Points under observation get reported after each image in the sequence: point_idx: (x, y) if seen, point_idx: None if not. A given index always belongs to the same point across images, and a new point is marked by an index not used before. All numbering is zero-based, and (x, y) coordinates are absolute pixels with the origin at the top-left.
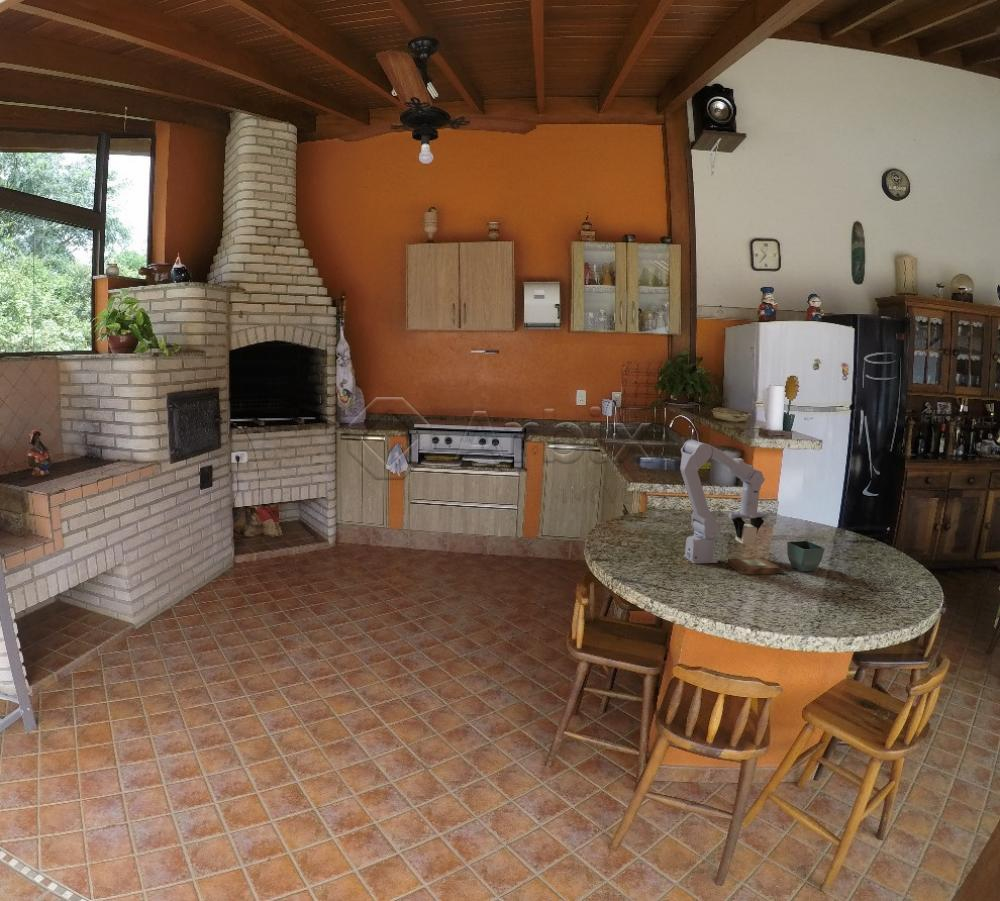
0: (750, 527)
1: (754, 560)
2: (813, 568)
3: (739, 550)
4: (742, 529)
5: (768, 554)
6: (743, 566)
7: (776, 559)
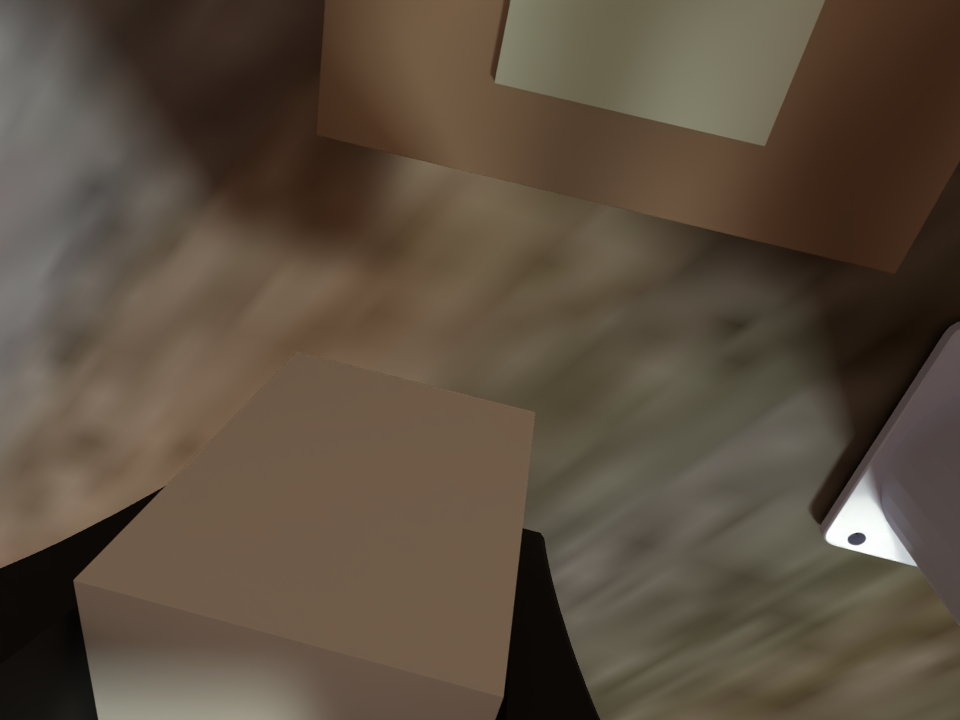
0: (265, 664)
1: (574, 45)
2: None
3: None
4: (515, 681)
5: (101, 340)
6: None
7: (92, 183)
